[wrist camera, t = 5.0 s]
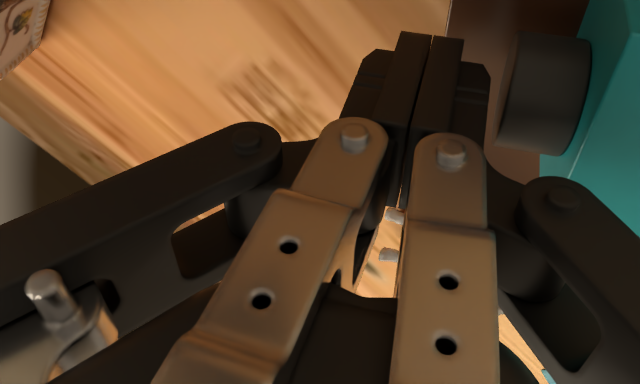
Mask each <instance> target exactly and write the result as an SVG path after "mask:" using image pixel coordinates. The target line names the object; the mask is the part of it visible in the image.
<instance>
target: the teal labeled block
mask: <svg viewBox="0 0 640 384" xmlns="http://www.w3.org/2000/svg"><path fill="white" fill-rule="evenodd" d="M492 144H493V145H494V146H497V147H503V148H509V149H514V150H520V151H526V152H532V153H538V154H540V175H539V177H542V176H558V177H564V178H568V179H570V180H573V181H576V182H578V183H580V184H581V185H583V186H585V187H586V188H587V189H589V190H590V191H591V192H592V193H593V194H594V195H595V196H596V197H597V198H598V199H599V200H601V201H602V202H603V203H604V204H605V205H606V206H607V207H608V208H609V209H610V210H611V211H612V212H613V213H614V214H615V215H616V216H617V217H619V218H620V219H621V220H622V221H623V222H624V223H625V224H626V225H627V226H628V227H629V228H630V229H631V230H632V231H633V232H634V233H635V234H636V235H638V236H639V237H640V0H590V1H589V4H588V7H587V9H586V12H585V15H584V18H583V20H582V23H581V26H580V29H579V32H578V34H577V37H576V38H574V37H566V36H558V35H551V34H543V33H535V32H527V31H518V32H517V33H516V34H515V36H514V38H513V40H512V43H511V46H510V49H509V53H508V56H507V60H506V63H505V67H504V71H503V75H502V79H501V84H500V88H499V93H498V98H497V103H496V108H495V114H494V120H493V127H492Z"/></svg>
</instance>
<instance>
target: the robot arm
mask: <svg viewBox="0 0 640 384" xmlns="http://www.w3.org/2000/svg"><path fill="white" fill-rule="evenodd" d="M431 39H432V35H428V34H420V33H413V32H406V31H401V33H400V36H399V39H398V42H397V45H396V48H395V51H389V50H382V49H375V50H374V51H373V52H371V53H370V54H369V55H367V56H366V57H365V58H364V59H363V60H362V63H361V65H360V68H359V70H358V74H357V75H356V77H355V80H354V82H353V85H352V87H351V90H350V92H349V95H348V97H347V100H346V102H345V105H344V107H343V109H342V112H341V114H340V117H339V119H337V120H335V121H333V122H331V123H329V124H328V125H327V126H326V127H324V129H323V130H322V132H321V134H320V135H319V137H318V138H316V139H313V140H308V141H298V142H282V141H281V137H280V135H279V133H278V132H277V131H276V130H275V129H274V128H273V127H271V126H269V125H267V124H264V123H259V122H240V123H236V124H233V125H230V126H228V127H226V128H223V129H221V130H219V131H216V132H214V133H212V134H210V135H207V136H205V137H203V138H200V139H198V140H196V141H193V142H191V143H189V144H186V145H184V146H182V147H180V148H177V149H175V150H173V151H170V152H168V153H166V154H163V155H161V156H159V157H157V158H154V159H152V160H150V161H147V162H145V163H143V164H140V165H138V166H136V167H133V168H131V169H129V170H127V171H124V172H122V173H120V174H117V175H115V176H113V177H110V178H108V179H106V180H103V181H101V182H99V183H97V184H94V185H92V186H90V187H87V188H85V189H83V190H81V191H78V192H76V193H74V194H71V195H69V196H67V197H64V198H62V199H60V200H57V201H55V202H53V203H51V204H48V205H46V206H44V207H41V208H39V209H37V210H34V211H32V212H30V213H28V214H25V215H23V216H21V217H18V218H16V219H14V220H11V221H9V222H7V223H4V224H2V225H0V384H539V382H538V381H537V379H536V378H535V377H534V375H533V374H532V372H531V371H530V370H529V369H528V368H527V366H526V365H525V364H524V363H523V362H522V361H521V360H520V358H519V357H517V356H516V355H515V354H514V353H513V352H512V351H511V350H510V349H509V348H508V347H506V346H505V345H504V344H502V343H501V342H500V341H499V327H498V306H499V307H500V309H501V310H502V311H503V313H504V314H505V315H506V317H507V318H508V319H509V321H510V322H511V323H512V325H513V326H514V327H515V329H516V330H517V331H518V333H519V334H520V336H521V337H522V338H523V340H524V341H525V342H526V344H527V345H528V346H529V348H530V349H531V350H532V352H533V353H534V354H535V356H536V357H537V358H538V360H539V361H540V362H541V364H542V365H543V366H544V368H545V369H546V370H547V372H548V373H549V374H550V376H551V377H552V379H553V380H554V381H555V383H556V384H640V237H639V236H638V235H636V234H635V233H634V232H633V231H632V230H631V229H630V228H629V227H628V226H627V225H626V224H625V223H624V222H623V221H622V220H621V219H620V218H619V217H617V216H616V215H615V214H614V213H613V212H612V211H611V210H610V209H609V208H608V207H607V206H606V205H605V204H604V203H603V202H602V201H601V200H599V199H598V198H597V197H596V196H595V195H594V194H593V193H592V192H591V191H590V190H589V189H587V188H586V187H585V186H583V185H581V184H580V183H578V182H576V181H573V180H570V179H568V178H564V177H558V176H542V177H538V178H535V179H533V180H531V181H529V182H528V183H527V184H526V185H524V184H521V183H519V182H517V181H514V180H512V179H510V178H508V177H506V176H504V175H502V174H501V173H499V172H498V171H497V170H495V169H494V168H493V167H492V166H491V165H490V163H489V162H488V161H487V159H486V156H485V153H484V140H485V131H486V121H487V112H488V103H489V93H490V84H491V77H490V75H489V73H488V71H487V70H486V68H485V66H484V64H479V63H472V62H466V61H461V57H462V52H463V46H464V41H465V39H458V38H450V37H443V36H436V35H434V37H433V41H432V44H431ZM430 46H431V48H430ZM401 185H402V187H401ZM400 189H401V194H400V200H399V207H398V208H400V209H405V214H404V220H403V227H402V233H401V239H400V247H399V255H398V263H397V271H396V279H395V287H394V295H393V298H367V297H361V296H359V295H356V294H355V293H356V290H357V287H358V285H359V282H360V279H361V277H362V274H363V271H364V269H365V266H366V263H367V261H368V258H369V255H370V253H371V250H372V247H373V245H374V242H375V239H376V237H377V234H378V228H379V223H380V222H381V220H382V218H383V214H384V210H385V206H389V207H394V208H396V205H397V201H398V197H399V193H400ZM222 203H224V207H225V208H224V209H222V210H220V211H218V212H216V213H214V214H212V215H210V216H208V217H206V218H204V219H202V220H200V221H198V222H196V223H194V224H192V225H190V226H188V227H186V228H184V229H182V230H180V231H178V232H176V233H174V234H173V232H174V231H175V230H176V228H177V227H179V226H180V225H181V224H182V223H184V222H186V221H188V220H190V219H192V218H194V217H196V216H198V215H200V214H202V213H204V212H206V211H208V210H210V209H212V208H214V207H216V206H218V205H220V204H222ZM221 280H222V281H221ZM219 281H221V282H220V283H218V284H216V283H217V282H219ZM214 284H215V285H214ZM153 318H154V319H153ZM151 319H152V320H151ZM150 320H151V321H150ZM148 321H149V322H148ZM146 322H147V323H146ZM144 323H146V324H144ZM143 324H144V325H143ZM141 325H143V326H141ZM139 326H141V327H139ZM137 327H139V328H137ZM135 328H137V329H136V330H134V329H135ZM132 330H134V331H132ZM130 331H132V332H131V333H129V334H127V333H128V332H130ZM125 334H127V335H126V336H124V337H122V338H121V339H119V340H117V339H118V338H119V337H121V336H123V335H125Z"/></svg>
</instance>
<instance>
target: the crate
mask: <svg viewBox="0 0 640 384" xmlns="http://www.w3.org/2000/svg"><path fill="white" fill-rule="evenodd" d="M589 1H590V0H450V6H449V12H448V18H447V24H446V29H445V35H444V37H450V38H458V39H465V41H464V46H463V52H462V57H461V61H466V62H472V63H479V64H484V66H485V68H486V70H487V71H488V73H489V75H490V77H491V84H490V93H489V103H488V112H487V121H486V131H485V140H484V153H485V156H486V159H487V161H488V162H489V163H490V165H491V166H492V167H493V168H494V169H495V170H497V171H498V172H499V173H501V174H502V175H504V176H506V177H508V178H510V179H512V180H514V181H517V182H519V183H521V184H524V185H526V184H527V183H528V182H529V181H531V180H533V179H535V178H538V177H539V175H540V154H538V153H532V152H526V151H520V150H514V149H509V148H503V147H497V146H494V145H493V144H492V127H493V120H494V114H495V108H496V103H497V98H498V93H499V88H500V84H501V79H502V75H503V71H504V67H505V63H506V60H507V56H508V53H509V49H510V46H511V43H512V40H513V38H514V36H515V34H516V33H517V32H518V31H527V32H535V33H543V34H551V35H558V36H566V37H574V38H576V37H577V34H578V32H579V29H580V26H581V23H582V20H583V18H584V15H585V12H586V9H587V7H588V4H589Z"/></svg>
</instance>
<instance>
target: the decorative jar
mask: <svg viewBox="0 0 640 384" xmlns="http://www.w3.org/2000/svg"><path fill="white" fill-rule="evenodd" d="M49 4H50V0H0V80H1V79H3V78H4V77H5V76H6V75H7V74H9V73H10V72H11V71H12V70H13V69H14V68H16V67H17V66H18V65H19V64H20V63H21V62H22V61H23V60H24V59H25V58H26V57H27V56H29V55H30V54H31V53H32V52H33V51H34V50H35V49H36V48H38V47H39V46H40V40H41V35H42V33H43V27H44V23H45V20H46V16H47V12H48V7H49Z"/></svg>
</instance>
